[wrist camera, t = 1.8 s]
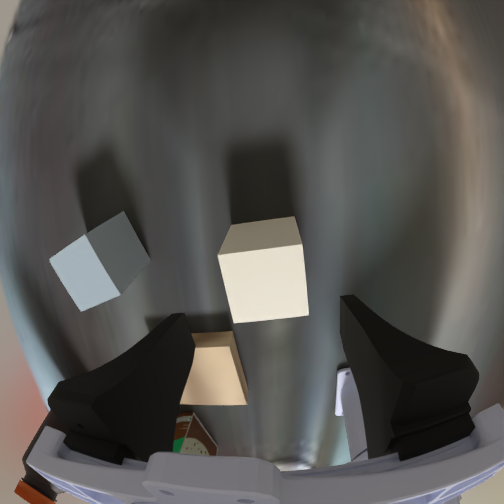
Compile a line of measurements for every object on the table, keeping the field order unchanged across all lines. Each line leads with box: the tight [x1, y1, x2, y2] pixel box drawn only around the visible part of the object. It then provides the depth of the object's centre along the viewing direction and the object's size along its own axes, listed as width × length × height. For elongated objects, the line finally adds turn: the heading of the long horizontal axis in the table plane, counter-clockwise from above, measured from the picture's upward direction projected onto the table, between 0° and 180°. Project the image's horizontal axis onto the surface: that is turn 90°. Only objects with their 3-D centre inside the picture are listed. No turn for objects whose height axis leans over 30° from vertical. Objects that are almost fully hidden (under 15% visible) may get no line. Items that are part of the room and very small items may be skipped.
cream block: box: [218, 216, 309, 323], centre depth 18 cm, size 4×4×6 cm
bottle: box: [15, 410, 69, 504], centre depth 22 cm, size 7×7×20 cm
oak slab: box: [180, 331, 248, 405], centre depth 25 cm, size 8×8×2 cm
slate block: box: [49, 211, 151, 312], centre depth 19 cm, size 4×4×6 cm
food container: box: [173, 411, 218, 456], centre depth 27 cm, size 12×6×10 cm, turn 14°
